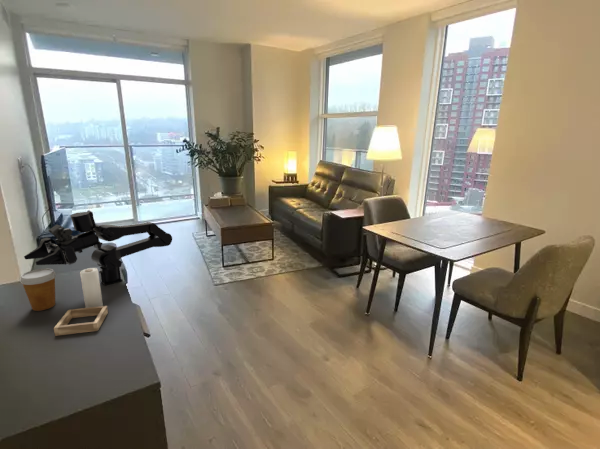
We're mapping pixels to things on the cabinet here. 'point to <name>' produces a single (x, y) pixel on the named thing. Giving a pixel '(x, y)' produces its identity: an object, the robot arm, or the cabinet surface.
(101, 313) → the oak holder
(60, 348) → the cabinet surface
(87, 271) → the paper roll
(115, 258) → the robot arm
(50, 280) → the disposable coffee cup
